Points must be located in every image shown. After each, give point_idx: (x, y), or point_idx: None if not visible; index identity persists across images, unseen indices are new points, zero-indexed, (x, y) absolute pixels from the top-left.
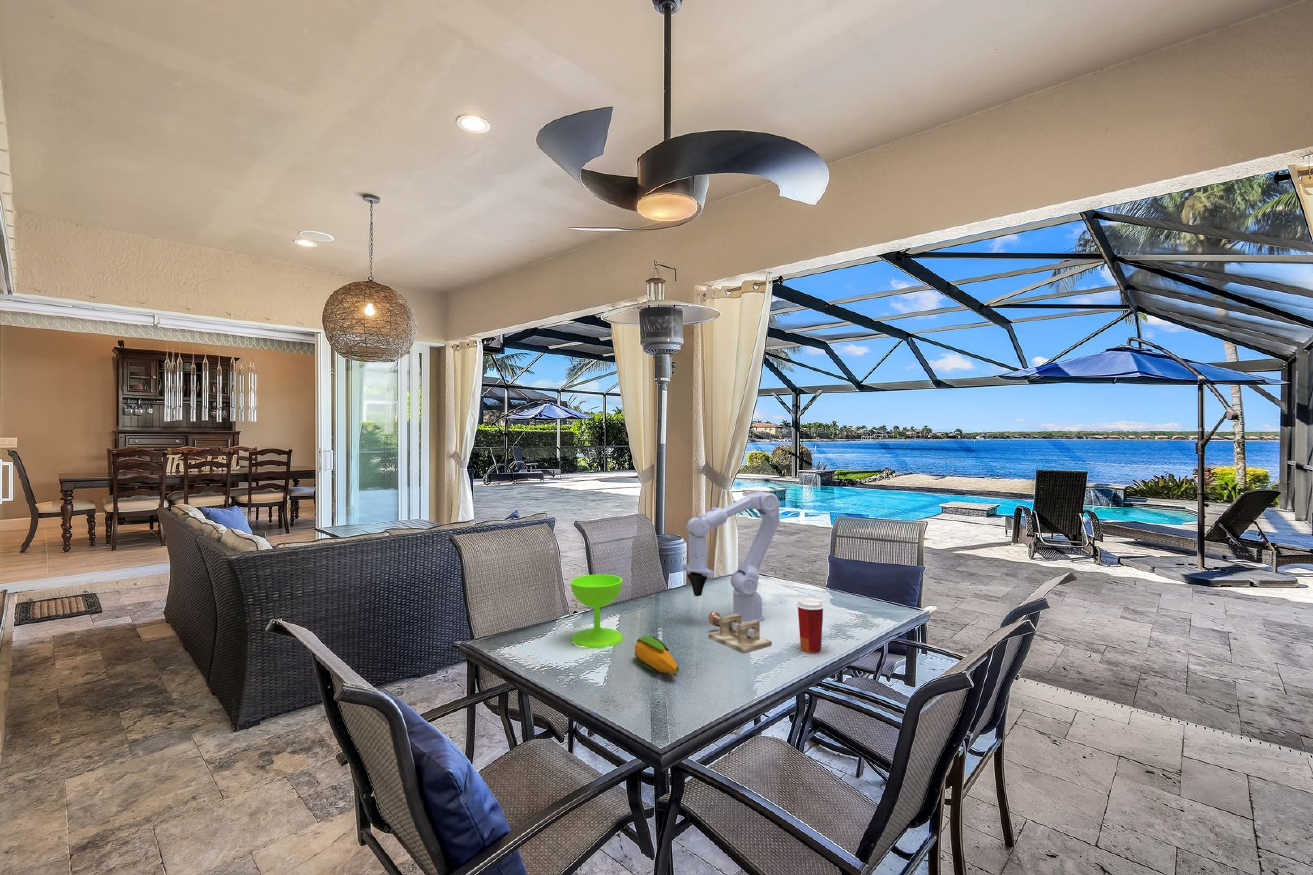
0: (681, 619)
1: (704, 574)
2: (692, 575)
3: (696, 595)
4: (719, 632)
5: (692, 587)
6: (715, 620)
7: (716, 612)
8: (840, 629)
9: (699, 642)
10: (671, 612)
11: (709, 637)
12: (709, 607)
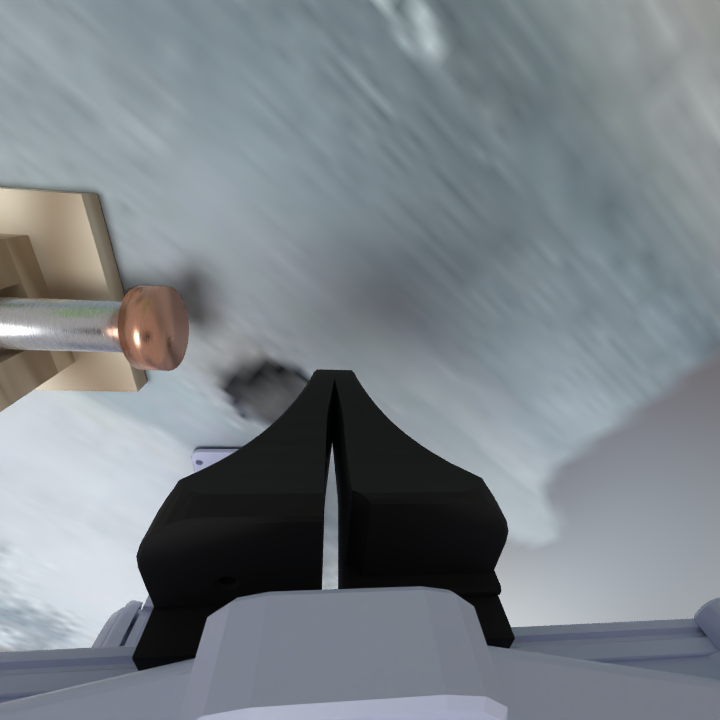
0: (451, 288)
1: (30, 691)
2: (297, 529)
3: (315, 371)
4: (79, 268)
5: (370, 403)
6: (108, 302)
7: (122, 351)
8: (11, 618)
9: (23, 65)
10: (569, 322)
11: (85, 193)
12: None
